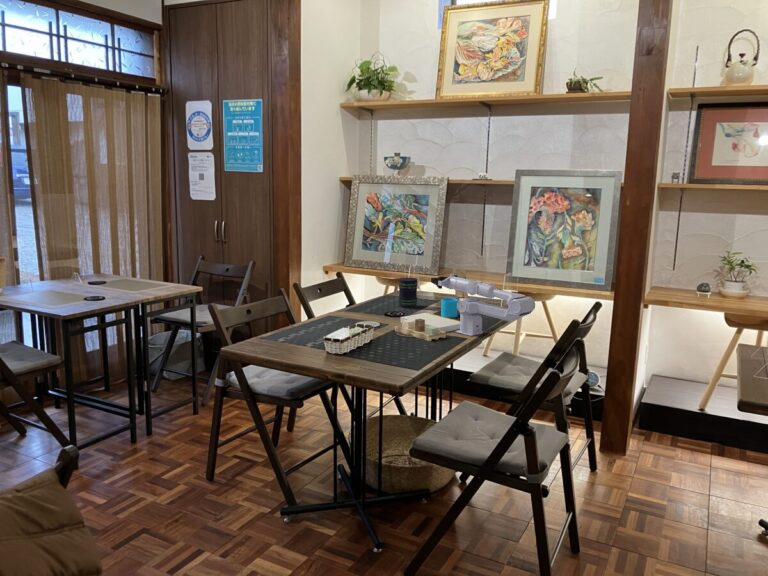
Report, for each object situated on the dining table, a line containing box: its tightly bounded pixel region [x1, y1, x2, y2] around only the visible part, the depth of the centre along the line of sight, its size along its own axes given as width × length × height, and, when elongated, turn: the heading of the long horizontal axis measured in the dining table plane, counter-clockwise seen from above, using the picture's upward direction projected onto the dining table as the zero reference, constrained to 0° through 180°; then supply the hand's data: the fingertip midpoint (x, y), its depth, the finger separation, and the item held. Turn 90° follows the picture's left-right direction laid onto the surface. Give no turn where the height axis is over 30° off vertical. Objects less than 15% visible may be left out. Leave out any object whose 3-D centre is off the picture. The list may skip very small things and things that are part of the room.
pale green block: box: [425, 326, 439, 335], centre depth 266 cm, size 4×4×3 cm
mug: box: [440, 297, 459, 318], centre depth 311 cm, size 12×8×8 cm
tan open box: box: [394, 319, 447, 342], centre depth 272 cm, size 22×10×7 cm, turn 40°
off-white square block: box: [401, 320, 415, 329], centre depth 278 cm, size 4×4×3 cm
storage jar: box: [398, 277, 418, 310], centre depth 329 cm, size 10×10×15 cm
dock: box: [400, 312, 460, 333], centre depth 289 cm, size 26×16×3 cm, turn 40°
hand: (437, 279), depth 287 cm, fingers open, 7 cm apart
